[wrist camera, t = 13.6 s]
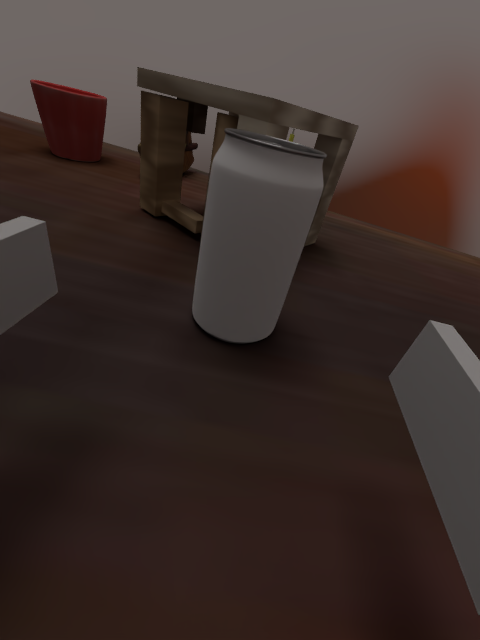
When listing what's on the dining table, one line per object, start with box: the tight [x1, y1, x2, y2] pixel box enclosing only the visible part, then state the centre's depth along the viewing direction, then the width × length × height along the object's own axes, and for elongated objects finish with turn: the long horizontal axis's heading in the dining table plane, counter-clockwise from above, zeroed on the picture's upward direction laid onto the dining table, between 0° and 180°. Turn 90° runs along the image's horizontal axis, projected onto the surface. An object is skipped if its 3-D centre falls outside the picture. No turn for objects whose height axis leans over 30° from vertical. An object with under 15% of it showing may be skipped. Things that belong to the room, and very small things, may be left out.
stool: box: [137, 67, 358, 246], centre depth 35 cm, size 17×17×14 cm
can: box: [192, 128, 327, 344], centre depth 19 cm, size 6×6×12 cm
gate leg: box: [140, 91, 239, 241], centre depth 32 cm, size 13×4×12 cm, turn 45°
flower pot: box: [30, 80, 107, 162], centre depth 50 cm, size 11×11×10 cm
